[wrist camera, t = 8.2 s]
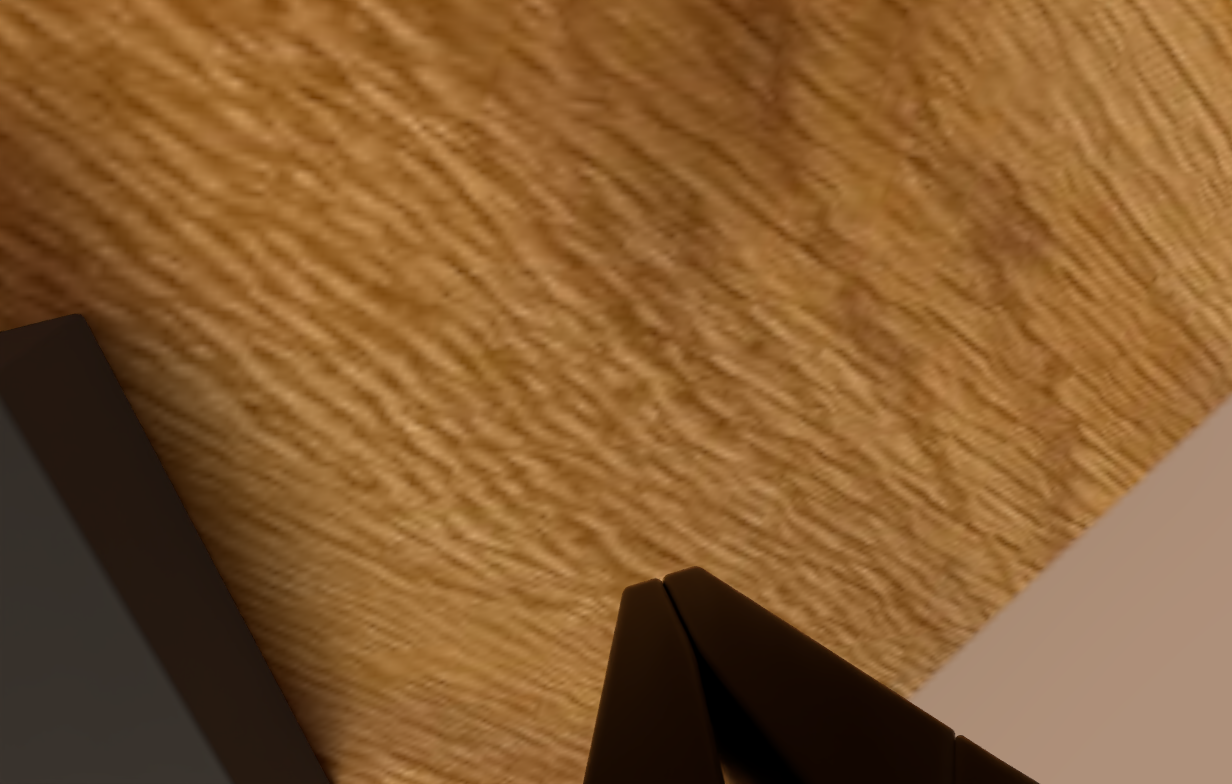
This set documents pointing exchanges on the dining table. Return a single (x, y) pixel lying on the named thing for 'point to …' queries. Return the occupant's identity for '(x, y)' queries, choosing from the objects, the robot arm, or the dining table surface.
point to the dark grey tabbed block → (116, 598)
